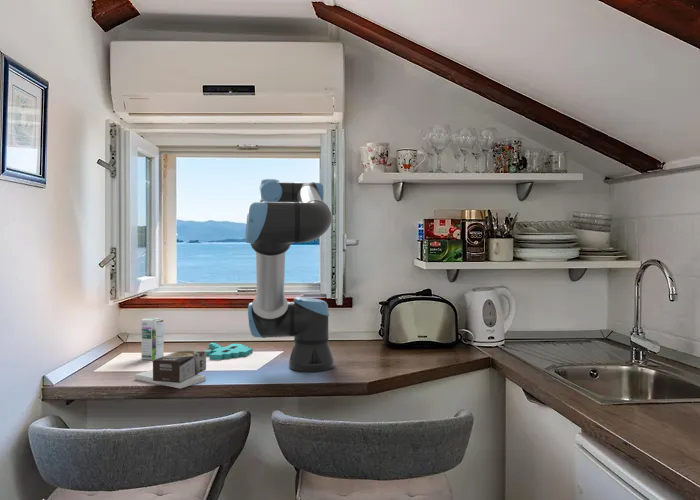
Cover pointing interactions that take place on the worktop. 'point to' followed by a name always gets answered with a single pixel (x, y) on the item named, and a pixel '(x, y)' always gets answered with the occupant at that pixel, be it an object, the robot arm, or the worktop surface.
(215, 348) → the alien figure
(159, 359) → the coffee box
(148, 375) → the board
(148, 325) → the syrup box
